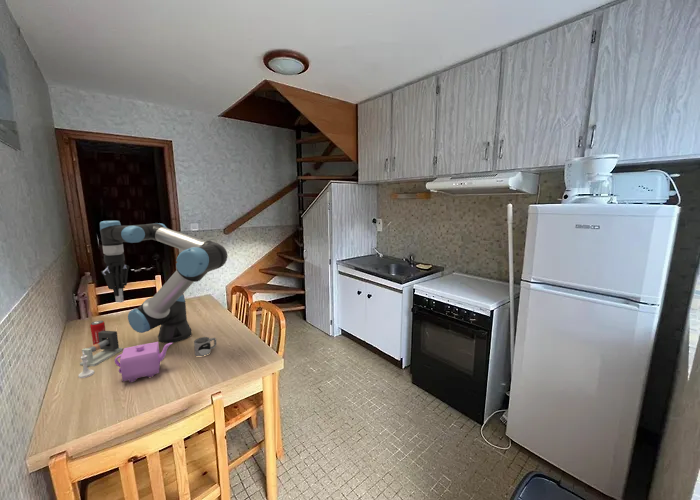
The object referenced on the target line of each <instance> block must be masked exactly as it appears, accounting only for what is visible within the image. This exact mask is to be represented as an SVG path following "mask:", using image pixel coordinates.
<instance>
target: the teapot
mask: <svg viewBox="0 0 700 500" xmlns="http://www.w3.org/2000/svg"><path fill="white" fill-rule="evenodd" d="M159 343H160V342H159V341H154V342H150V343H149V342H148V343H143V344H138V345H134V346H129V347H124V348H123V350H122V353H121V354H117V355H116V357H115V358H114V364H116V366H117V367H119V368H118V372H119V374H121V381H122V382H127V381H128V382H129V383H134V382H136V381H137V380H138V378H139V379H140V378H143V377H147V378H149V377H151V378H153V377H152V376H154V375H155V376H156V375H157V374H160V368H161V367H160V366H161V362H162V361H163V360H164V358H165V357H166V354H167V351H168V349H169V347H170V346H171V345H172V344H174V343H165V344H164V346H163V348H162V351H161V352H160V345H159ZM119 358H120V359H119ZM155 376H154V377H155ZM149 379H150V378H149ZM135 380H136V381H135Z"/></svg>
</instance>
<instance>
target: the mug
mask: <svg viewBox="0 0 700 500" xmlns="http://www.w3.org/2000/svg"><path fill="white" fill-rule="evenodd" d="M212 341H213V345H211V342H212ZM193 347H194V356H195V355H196V356H204V355H207V354H209V353H210V352H211V353H212V350H213V349H214V348H216V347H217V338H216V337H211V338H210V337H207V336H202V337H199V338H195V339H194V341H193ZM211 353H210V354H211ZM210 354H209V355H210ZM196 356H195V357H196ZM207 356H208V355H207Z"/></svg>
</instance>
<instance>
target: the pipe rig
mask: <svg viewBox="0 0 700 500" xmlns="http://www.w3.org/2000/svg"><path fill="white" fill-rule="evenodd" d="M107 344H110V338H107V339H106V340H104V341H102V342H100V343H98V344H95V345H93V344H92V345H91V346H89V347H87V348H82V349H81V353H82V352H84V355H87V358H86V360H88V362H87V367H96V366H98V365H99V364H101V363H102V362H105V361H107V360H108V359H110V358H112V357H113V356H115V355H118V353H120V352H123V350H124V348H123V347H119V348H118V349H116V350H102V351H99V352H97V353H95V352H96V351H98V350H101V349H100V348H102V347H104V346H105V345H107ZM93 353H95V354H94V355H93ZM81 356H83V354H82V355H81ZM79 365H80V366H83V364H81V362H79Z"/></svg>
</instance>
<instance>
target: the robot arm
mask: <svg viewBox="0 0 700 500" xmlns="http://www.w3.org/2000/svg"><path fill="white" fill-rule="evenodd" d="M99 232H100V239H101V244H102V253H103V254H104V255H103V261H104V263H105V269H104V270H101V271H100V273H101V275H103V277H104V278H103V279H104V280H105V283H106V285H107V287H108V289H109V290H113V296H114V298H115V303H123V302H124V301H125V300H124V289H125V288H126V286H127V285H128V276H129V269H130V265H127V264H125V260H126V259H125V258H126V257H125V254H124V251H125V250H124V243H130V244H133V243H141V242H143V241H150V240H153V241H155V242H156V241H157V242H160V243H162V244H164V245H168V246H170V247H173V248H176V249H179V250H182V251H181V252H179V254H178V256H177V258H176V260H175V262H176V263H175V269H176V270H175V271H174V273H173V274H172V275H171V276H170V277H169V278H168V280H166V282H165V283H164V284H163V285H162V286H161V287H160V289H159V290H158V291H156V293H155V294H154V295H153V296H152V297H149V298H146V299H145V300H144V301H143V303H142V304H141V305H139V306H138V307H135V308H133V309H132V310H130V311H129V312H128V313H127V314H128V315H127V319H128V324H129V326H130V327H131V329H132V330H134V331H135V332H136V333H140V334H142V333H147V332H149V331H151V330H153V329H155V328H157V327H159V332H158V335H157V338H158V341H157V342H158V343H162V344H168V343H173V344H175V343H178V342H182V341H185V340H186V339H188V338H190V337H191V336H192V335H193V334H192V332H193V331H192V328H191V327H190V324H189V322H188V319H187V307H186V306H187V305H186V304H187V303H186V297H185V295H184V293H185V292H186V291H187V290H188V289H189V288H190V287H191V285H192V284H193V283H195V282H200V281H201V280H202V279H203V278H204V277H205V276H206V275H207V274H208V273H209V272H212V271H214V270H218V269H221V268H222V267H223V266H224V265H225V264H226V263H227V260H228V252H227V249H226V248H225V247H224V246H223V245H222V244H220V243H218V242H216V241H212V240H210V239H209V240H202V239H199V238H197V237H194V236H191V235H188V234H184V233H182V232H180V231H179V232H178V231H176V230H173V229H170V228H168V227H167V226H166V225H165V224H164V223H160V222H159V223H158V222H155V223H146V224H133V225H122V224H121V222H120V220H103V221H100V222H99Z"/></svg>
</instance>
